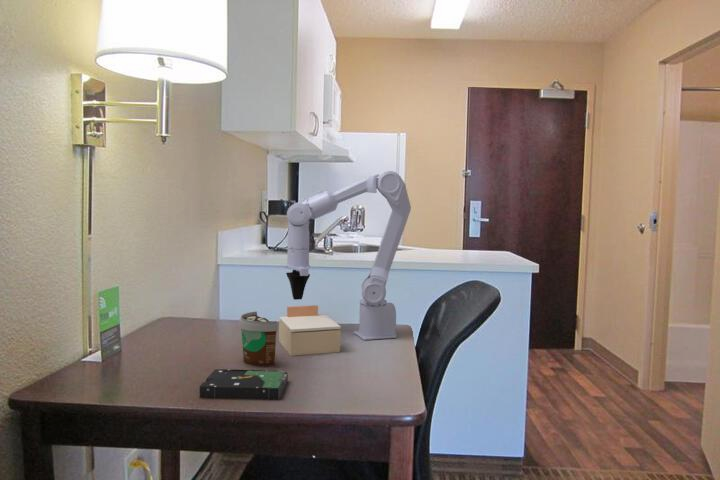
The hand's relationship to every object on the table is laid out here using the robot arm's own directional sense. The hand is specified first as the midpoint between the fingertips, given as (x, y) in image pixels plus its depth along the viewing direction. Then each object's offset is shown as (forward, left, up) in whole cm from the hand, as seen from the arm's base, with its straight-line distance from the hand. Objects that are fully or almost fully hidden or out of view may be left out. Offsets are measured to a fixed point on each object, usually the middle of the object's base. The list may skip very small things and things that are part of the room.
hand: (297, 299), depth 143 cm
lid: (0, +12, -4) cm, 13 cm away
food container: (+15, +21, -10) cm, 28 cm away
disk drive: (+19, +38, -10) cm, 44 cm away
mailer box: (0, +12, -10) cm, 15 cm away
